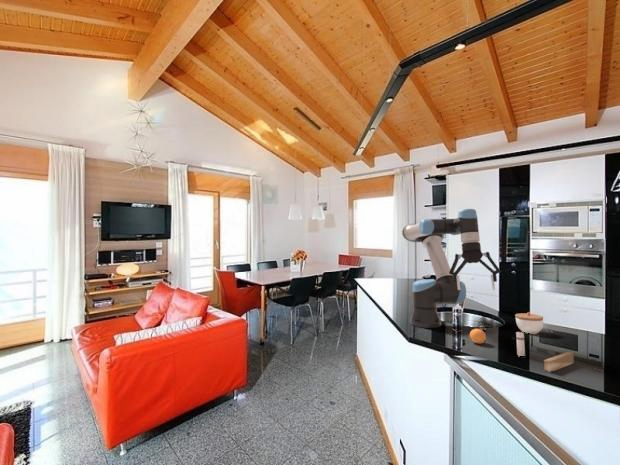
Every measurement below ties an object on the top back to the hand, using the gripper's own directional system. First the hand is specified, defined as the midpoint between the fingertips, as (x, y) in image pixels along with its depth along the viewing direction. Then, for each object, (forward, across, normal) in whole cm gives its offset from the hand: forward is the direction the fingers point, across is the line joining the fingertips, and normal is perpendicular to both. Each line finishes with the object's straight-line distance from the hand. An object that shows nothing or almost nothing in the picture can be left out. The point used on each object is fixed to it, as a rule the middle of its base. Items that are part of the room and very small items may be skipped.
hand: (476, 289), depth 134 cm
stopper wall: (+26, +24, -17) cm, 39 cm away
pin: (+24, +14, -11) cm, 30 cm away
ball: (+19, -1, -4) cm, 20 cm away
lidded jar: (+21, +18, +27) cm, 38 cm away
